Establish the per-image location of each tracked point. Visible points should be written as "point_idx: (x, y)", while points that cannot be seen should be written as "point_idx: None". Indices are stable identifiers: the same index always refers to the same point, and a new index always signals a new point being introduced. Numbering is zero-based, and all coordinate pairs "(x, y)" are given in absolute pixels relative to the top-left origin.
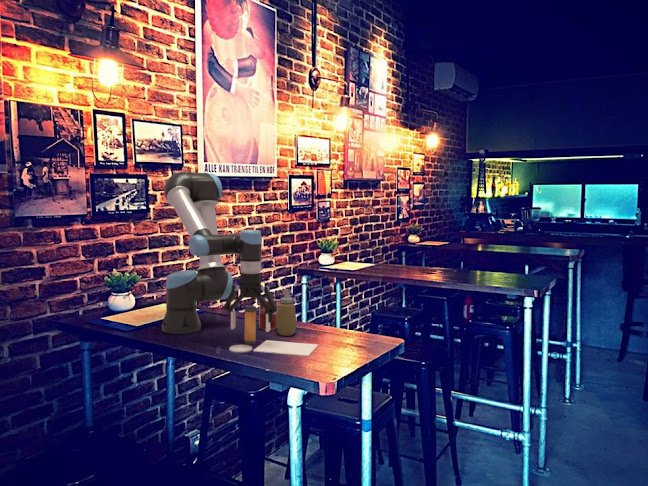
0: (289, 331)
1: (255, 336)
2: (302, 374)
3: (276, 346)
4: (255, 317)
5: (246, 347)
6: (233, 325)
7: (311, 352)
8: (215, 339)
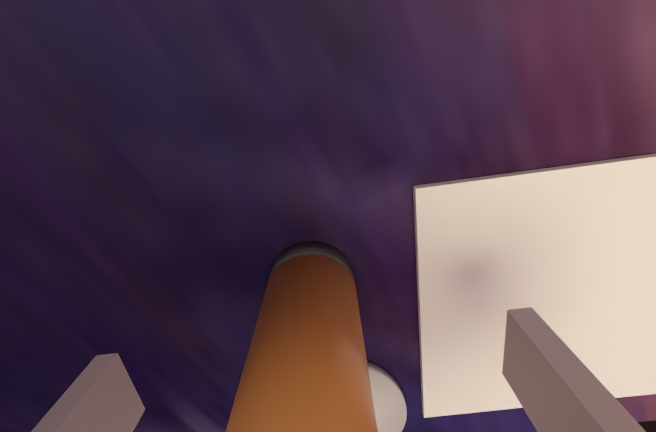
0: None
1: (356, 299)
2: None
3: (546, 306)
4: None
5: None
6: (116, 429)
7: None
8: (28, 301)
